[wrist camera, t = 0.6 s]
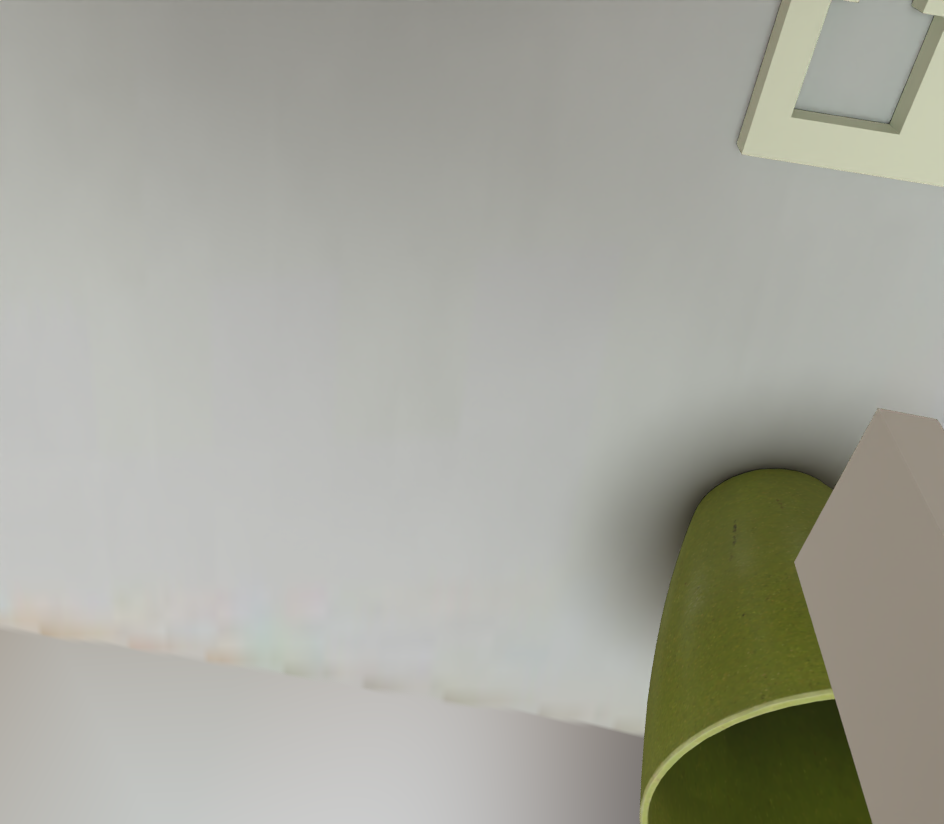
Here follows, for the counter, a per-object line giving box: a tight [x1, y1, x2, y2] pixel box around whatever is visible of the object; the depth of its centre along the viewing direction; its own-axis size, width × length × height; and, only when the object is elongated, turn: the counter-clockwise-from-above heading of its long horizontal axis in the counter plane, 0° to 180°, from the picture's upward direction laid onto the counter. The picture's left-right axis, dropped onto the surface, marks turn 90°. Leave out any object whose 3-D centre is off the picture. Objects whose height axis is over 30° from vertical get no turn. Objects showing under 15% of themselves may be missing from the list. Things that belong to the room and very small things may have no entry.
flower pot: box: [640, 469, 872, 824], centre depth 38 cm, size 15×15×16 cm
